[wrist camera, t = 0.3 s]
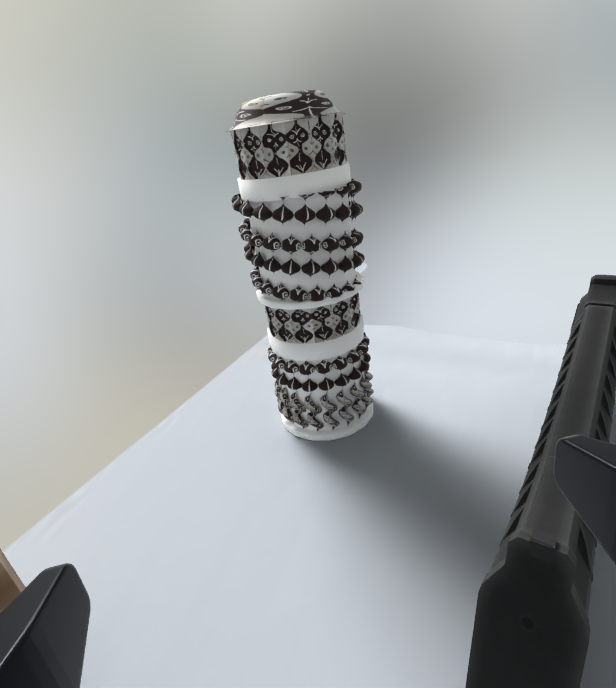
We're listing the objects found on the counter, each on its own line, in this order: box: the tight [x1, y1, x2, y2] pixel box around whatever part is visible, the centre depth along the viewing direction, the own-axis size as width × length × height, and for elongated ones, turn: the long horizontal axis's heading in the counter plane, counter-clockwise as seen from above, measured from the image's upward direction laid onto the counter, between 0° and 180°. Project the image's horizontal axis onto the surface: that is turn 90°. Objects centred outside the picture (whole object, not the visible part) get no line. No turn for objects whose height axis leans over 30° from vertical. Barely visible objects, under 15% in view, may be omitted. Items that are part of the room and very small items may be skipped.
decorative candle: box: [227, 90, 374, 441], centre depth 34 cm, size 9×9×25 cm
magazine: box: [466, 275, 616, 688], centre depth 24 cm, size 17×3×30 cm
